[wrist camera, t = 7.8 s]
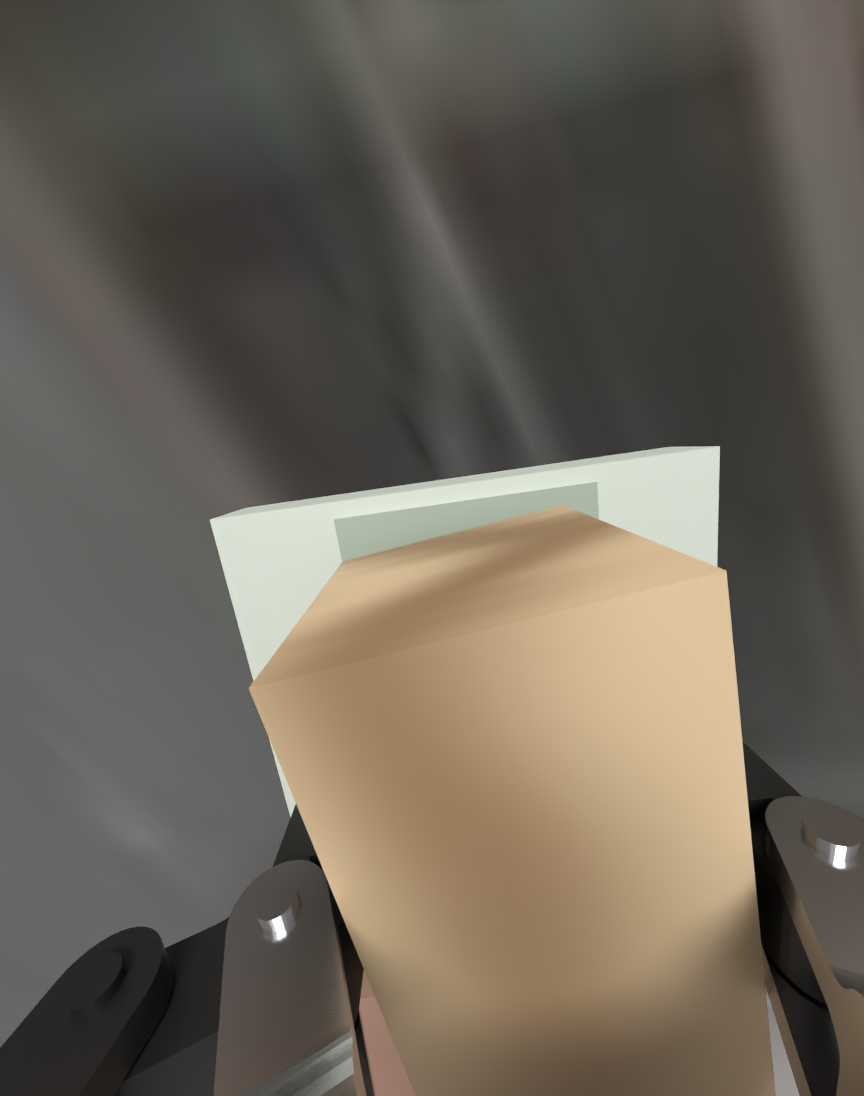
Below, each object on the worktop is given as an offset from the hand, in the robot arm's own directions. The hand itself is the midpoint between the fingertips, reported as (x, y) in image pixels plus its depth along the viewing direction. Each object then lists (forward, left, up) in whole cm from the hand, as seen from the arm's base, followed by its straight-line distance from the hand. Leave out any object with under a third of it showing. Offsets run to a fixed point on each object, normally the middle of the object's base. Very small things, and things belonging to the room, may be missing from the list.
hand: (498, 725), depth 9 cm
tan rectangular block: (0, 0, -1) cm, 1 cm away
